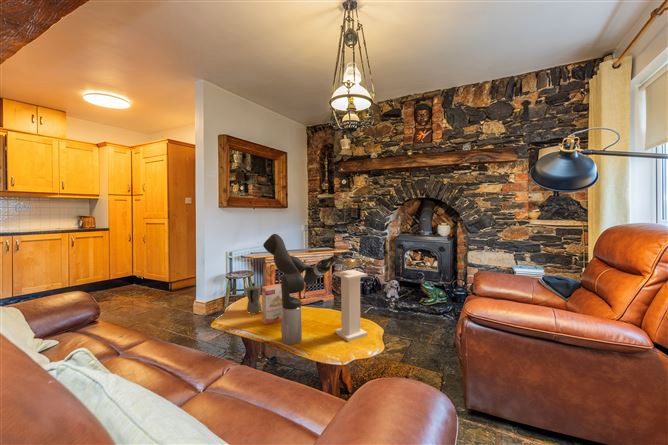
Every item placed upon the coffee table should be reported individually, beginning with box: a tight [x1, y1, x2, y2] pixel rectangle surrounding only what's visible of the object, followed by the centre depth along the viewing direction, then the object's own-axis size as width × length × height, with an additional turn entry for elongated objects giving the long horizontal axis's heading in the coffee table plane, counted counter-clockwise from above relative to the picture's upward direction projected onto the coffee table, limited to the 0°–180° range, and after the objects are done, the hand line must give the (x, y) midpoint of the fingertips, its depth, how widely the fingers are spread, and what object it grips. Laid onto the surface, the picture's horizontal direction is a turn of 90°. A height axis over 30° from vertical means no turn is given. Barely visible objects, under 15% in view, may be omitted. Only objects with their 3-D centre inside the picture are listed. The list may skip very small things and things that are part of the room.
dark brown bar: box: [333, 256, 358, 268], centre depth 154 cm, size 5×20×3 cm, turn 33°
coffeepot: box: [245, 282, 262, 314], centre depth 181 cm, size 15×9×18 cm, turn 6°
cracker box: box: [261, 282, 283, 326], centre depth 166 cm, size 14×6×21 cm, turn 126°
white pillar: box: [333, 269, 368, 343], centre depth 148 cm, size 12×12×32 cm
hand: (335, 257), depth 158 cm, fingers closed on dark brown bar, 2 cm apart
